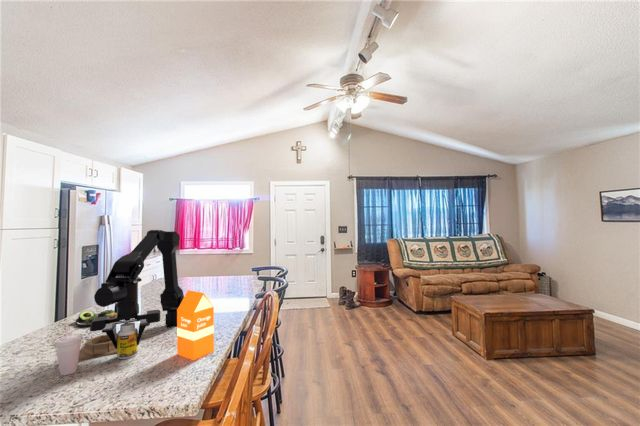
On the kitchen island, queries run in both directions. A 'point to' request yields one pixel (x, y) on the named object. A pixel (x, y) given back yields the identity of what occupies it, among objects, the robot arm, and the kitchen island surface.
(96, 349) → the caddy
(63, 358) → the smoothie
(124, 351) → the supplement bottle
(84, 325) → the salad plate
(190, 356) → the orange juice
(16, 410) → the kitchen island surface
